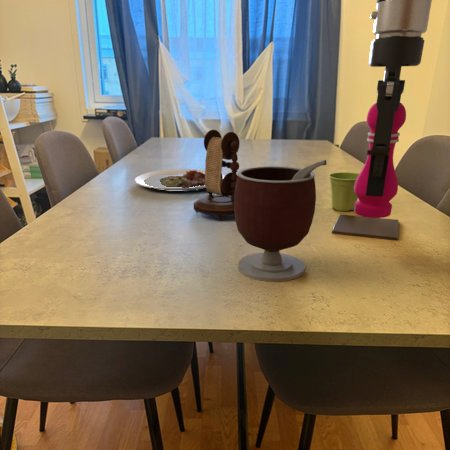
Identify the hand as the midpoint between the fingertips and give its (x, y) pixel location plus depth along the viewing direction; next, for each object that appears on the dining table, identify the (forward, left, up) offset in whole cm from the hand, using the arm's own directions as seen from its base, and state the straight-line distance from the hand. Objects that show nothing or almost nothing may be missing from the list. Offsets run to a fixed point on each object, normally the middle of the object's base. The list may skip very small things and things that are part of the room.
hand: (375, 190), depth 75 cm
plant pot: (+8, -38, -14) cm, 41 cm away
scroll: (+37, -23, -14) cm, 46 cm away
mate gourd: (+15, +8, -14) cm, 22 cm away
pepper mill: (0, 0, -4) cm, 4 cm away
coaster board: (+1, -23, -14) cm, 27 cm away
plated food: (+62, -51, -14) cm, 82 cm away
